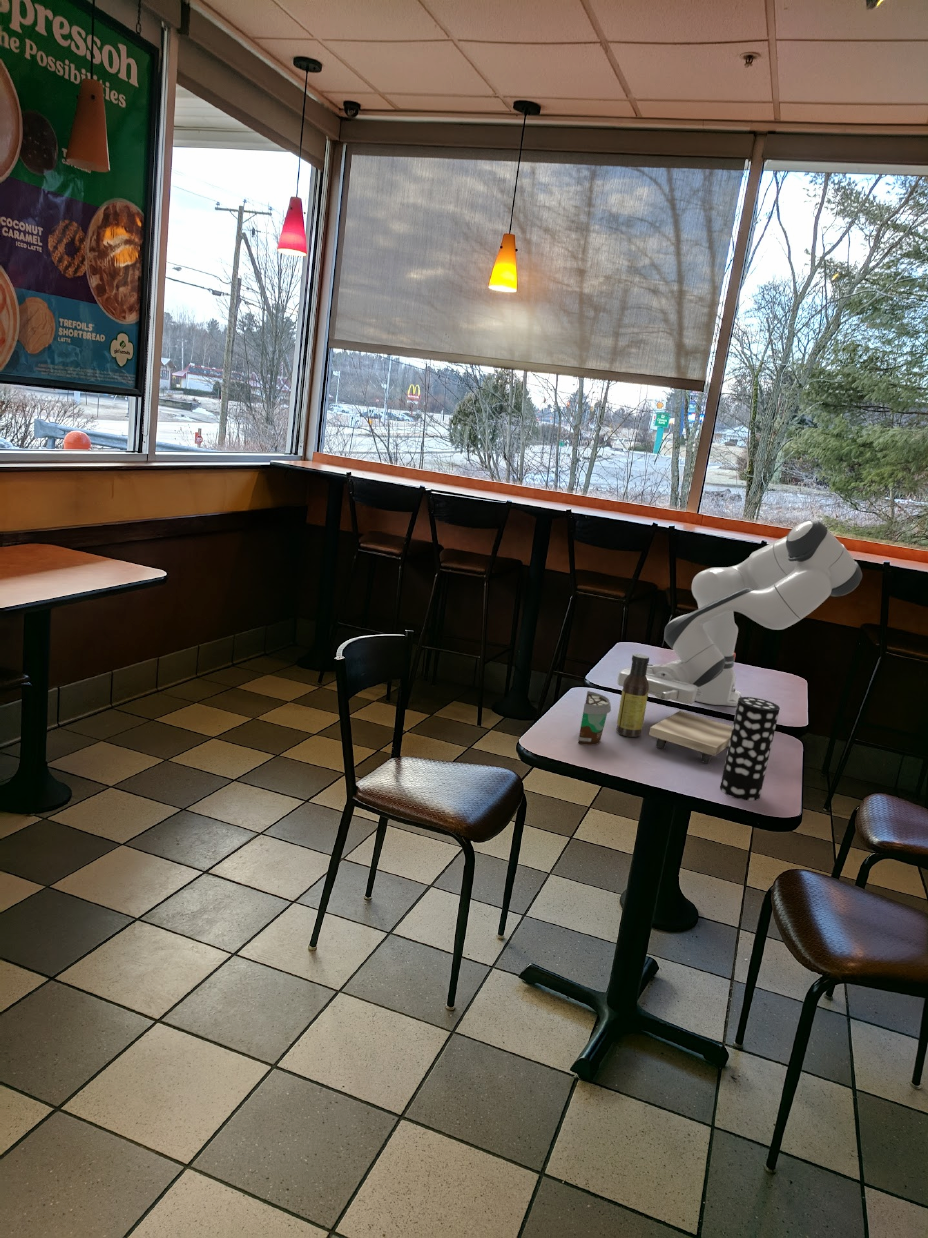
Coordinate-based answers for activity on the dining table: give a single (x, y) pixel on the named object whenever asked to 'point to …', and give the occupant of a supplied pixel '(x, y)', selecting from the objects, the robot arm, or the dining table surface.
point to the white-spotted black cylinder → (749, 748)
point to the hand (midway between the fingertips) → (646, 691)
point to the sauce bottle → (634, 698)
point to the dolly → (693, 733)
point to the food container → (593, 718)
